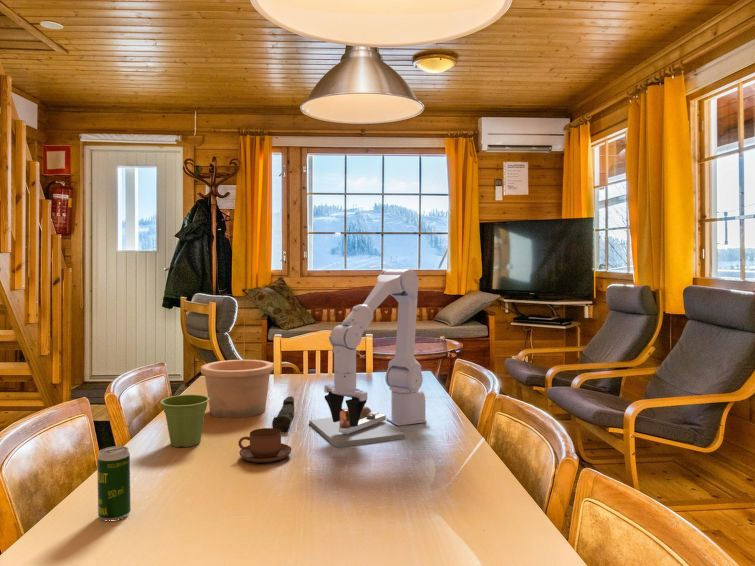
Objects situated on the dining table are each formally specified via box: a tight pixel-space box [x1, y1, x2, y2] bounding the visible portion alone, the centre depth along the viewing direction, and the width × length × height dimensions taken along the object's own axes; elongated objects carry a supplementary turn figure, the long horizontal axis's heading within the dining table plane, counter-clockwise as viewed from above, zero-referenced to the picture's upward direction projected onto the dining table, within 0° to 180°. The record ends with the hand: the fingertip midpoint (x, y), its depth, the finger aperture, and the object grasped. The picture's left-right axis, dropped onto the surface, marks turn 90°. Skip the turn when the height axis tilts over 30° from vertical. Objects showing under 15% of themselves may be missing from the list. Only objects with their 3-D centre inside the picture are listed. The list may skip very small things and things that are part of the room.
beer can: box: [96, 445, 132, 521], centre depth 107 cm, size 5×5×12 cm
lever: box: [339, 408, 387, 434], centre depth 160 cm, size 18×5×6 cm, turn 143°
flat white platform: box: [308, 405, 406, 448], centre depth 161 cm, size 19×23×4 cm
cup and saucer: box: [238, 427, 292, 464], centre depth 139 cm, size 12×12×6 cm
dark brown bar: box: [271, 396, 295, 434], centre depth 171 cm, size 23×5×6 cm, turn 179°
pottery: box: [200, 359, 275, 419], centre depth 182 cm, size 22×22×14 cm
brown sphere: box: [360, 406, 372, 419], centre depth 169 cm, size 4×4×4 cm
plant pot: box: [160, 394, 210, 448], centre depth 150 cm, size 12×12×11 cm
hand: (345, 423), depth 153 cm, fingers open, 6 cm apart
